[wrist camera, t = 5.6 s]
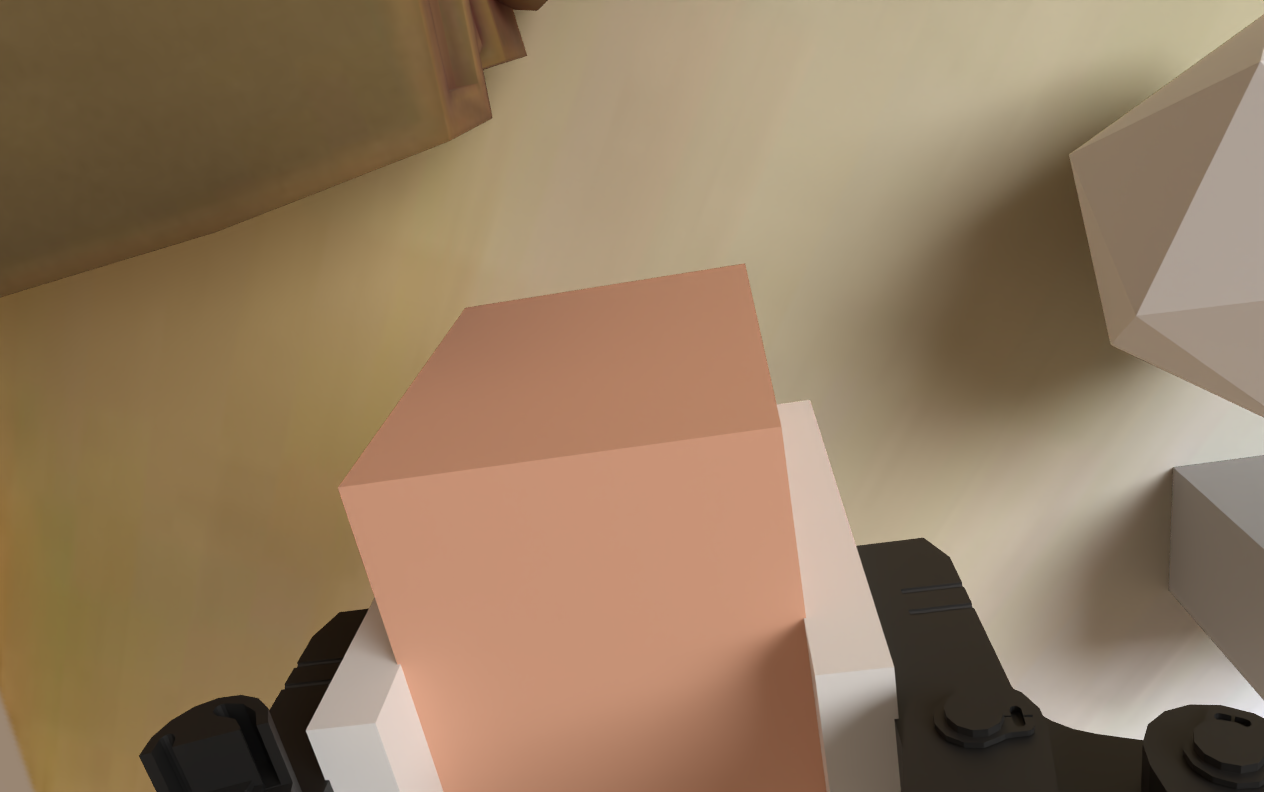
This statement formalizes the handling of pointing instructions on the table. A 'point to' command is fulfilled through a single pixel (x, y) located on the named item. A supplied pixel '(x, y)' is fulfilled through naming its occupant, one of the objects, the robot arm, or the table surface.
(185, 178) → the wooden toy train
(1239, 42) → the die
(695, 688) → the salmon pink block
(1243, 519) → the gray rectangular block
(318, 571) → the table surface
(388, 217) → the table surface
